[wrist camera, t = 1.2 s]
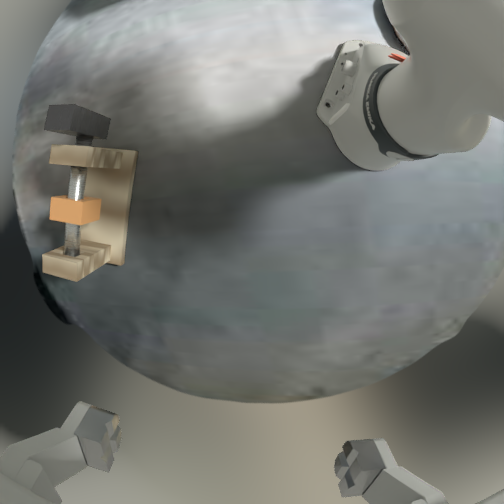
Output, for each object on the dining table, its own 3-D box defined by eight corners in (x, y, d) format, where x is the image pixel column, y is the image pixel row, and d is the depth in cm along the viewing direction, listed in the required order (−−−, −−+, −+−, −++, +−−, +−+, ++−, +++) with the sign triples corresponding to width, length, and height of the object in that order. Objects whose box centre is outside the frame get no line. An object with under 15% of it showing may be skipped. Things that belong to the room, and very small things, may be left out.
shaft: (87, 117, 36) (49, 105, 26) (110, 118, 36) (75, 104, 26) (70, 264, 40) (33, 285, 31) (92, 269, 41) (57, 292, 31)
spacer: (71, 194, 38) (51, 197, 33) (101, 198, 38) (83, 201, 33) (69, 214, 39) (49, 219, 33) (99, 219, 39) (80, 225, 34)
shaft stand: (85, 146, 42) (41, 140, 30) (138, 151, 43) (103, 143, 31) (74, 252, 46) (32, 272, 34) (124, 263, 47) (89, 288, 34)
